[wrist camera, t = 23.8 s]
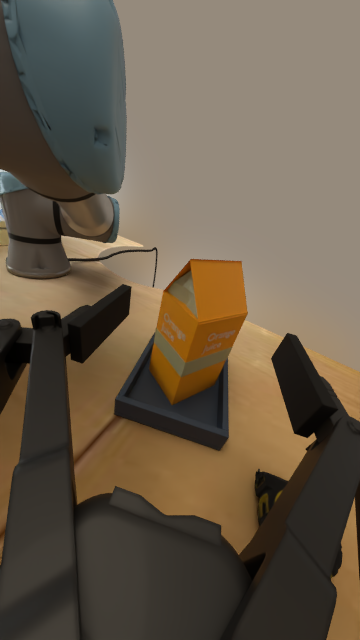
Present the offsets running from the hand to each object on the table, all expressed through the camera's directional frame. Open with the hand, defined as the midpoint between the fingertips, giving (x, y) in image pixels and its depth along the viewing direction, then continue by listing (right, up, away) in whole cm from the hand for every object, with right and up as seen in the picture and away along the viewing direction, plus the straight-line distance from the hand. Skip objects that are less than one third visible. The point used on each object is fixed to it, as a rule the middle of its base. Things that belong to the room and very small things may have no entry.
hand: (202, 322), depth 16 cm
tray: (-2, -10, +17) cm, 20 cm away
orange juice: (-2, -10, +17) cm, 19 cm away
